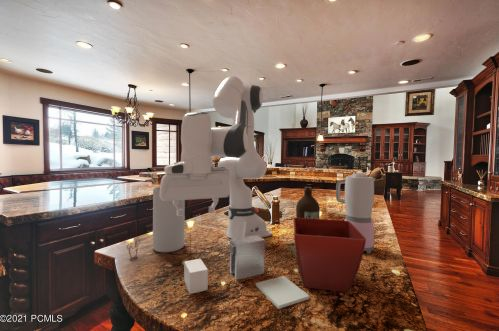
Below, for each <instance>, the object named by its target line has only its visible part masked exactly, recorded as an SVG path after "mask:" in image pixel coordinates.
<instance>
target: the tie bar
mask: <svg viewBox="0 0 499 331" xmlns="http://www.w3.org/2000/svg"><path fill="white" fill-rule="evenodd" d="M265 249H267V241H265V246H264V250H265ZM230 253H231V254H232V255H234V254H235V245H233V244H231V245H230V244H229V254H230Z"/></svg>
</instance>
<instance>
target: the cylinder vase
mask: <svg viewBox="0 0 499 331" xmlns="http://www.w3.org/2000/svg"><path fill="white" fill-rule="evenodd" d="M159 192H160V186H158V187H157V186H156V187H154V188H152V205H153V206H152V249H153V250H154V251H155V252H158V253H172V252H177V251H179V250H181V249H182V248H184V246H185V220H186V219H185V218H186V216H185V209H186V208H185V205H186V203H185V202H186V200H179V204H177V206H178V207H179V209H183V216H177V209H176V208H175V206H174V205H173V201H162V200H161V199H160V197H159Z"/></svg>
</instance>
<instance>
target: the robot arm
mask: <svg viewBox="0 0 499 331" xmlns="http://www.w3.org/2000/svg"><path fill="white" fill-rule="evenodd" d="M263 102H264V93H263V90H262V88H261V87H260V86H259V85H255V84H252V85H248V84H247V85H244V82H243V80H242V79H240V78H239V77H237V76H233V75H231V76H227V77H226V78H225V79H224V80H223V81H221V83H220V84H219V86H218V87H217V89H216V91H215V93H214V95H213V98H212V105H213V108H214V110H215V112H217V114H218V115H220V116H221V117H223V118H226V119H232V122H231V126H212V121H211V114H210V113H208V112H205V111H202V112H198V111H197V112H187V113H186V114H184V115H183V117H182V122H181V129H180V130H181V132H180V142H181V143H180V144H181V146H182V150H181V155H180V161H177V162H173V163H172V164H167V165H165V166H164V173H165V174H164V175H163V176H161V179H160V186H159V187H160V192H159V197H160V199H161V200H162V201H173V205H174V206H175V208H176V209H177V216H183V209H179V207H178V206H177V204H179V200H185V201H188V200H189V201H190V200H201V199H202V200H203V199H204V200H205V199H211V200H212V201H213V202H212V203H211V205H210V206H208V213H209V214H214V213H215V212H216V206H217V205H218V203H219V200H220V199H219V198H228V197H229V206H228V212H227V213H228V214H227V215H228V225H227V230H226V234H225V236H226V237H227V238H230V239H236V238H242V237H249V236H256V235H257V236H259V237H261V238H262V239H263V238H266V237H269V236H272V232H271V230H269V229H268V228H267V224H266V221H265V220H264V219H263V218H261V217H260V216H259V215H258V214H256V213H259V211H260V208H258V207H254V206H253V191H252V190H251V188H250V187H249V186H247V185H246V184H245V182H244V179H245V180H256V179H262V178H264V176H265V175H266V173H267V163H266V161H265V159H264V158H263V157H261V156H260V154H259V153H258V151H257V149H256V145H255V116H254V114H256V112H257V111H258V110H259V109H260V108H261V107H262V105H263ZM215 157H216V158H217V157H218V158H220V159H219V161H218V163H217V166H216V167H215V166H213V165H212V164H213V162H212V161H213V159H212V158H215Z"/></svg>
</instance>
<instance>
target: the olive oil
mask: <svg viewBox="0 0 499 331" xmlns="http://www.w3.org/2000/svg"><path fill="white" fill-rule="evenodd" d="M312 189H313V187H311V186H305V187H304V190H303V191H304V192H303V193H304V194H303V196H302V197H301V198H300V199H298V201H297V203H296V206H295V212H296V216H295V218H310V219H320V212H321V211H320V210H321V208H320V204H319V202H318V201H317V200H316V198H315V197H313V190H312Z"/></svg>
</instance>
